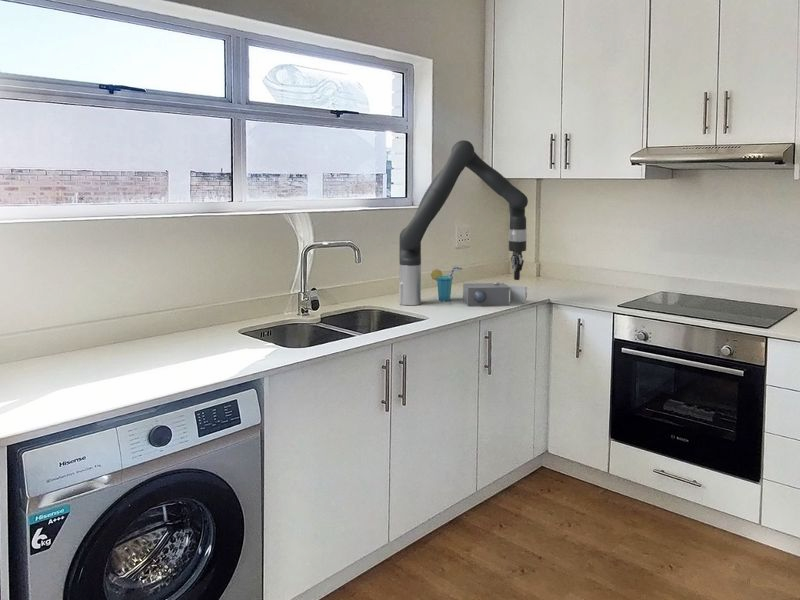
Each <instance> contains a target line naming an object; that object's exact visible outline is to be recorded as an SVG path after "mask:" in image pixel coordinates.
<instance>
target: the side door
mask: <svg viewBox="0 0 800 600" xmlns="http://www.w3.org/2000/svg"><path fill="white" fill-rule="evenodd" d="M505 284H506V283H505ZM506 285H507V286H509V287H510V302H513V303H514V302H515V303H521V304H526V303H527V297H528V292H527V291H528V287H526V286H521V285H514V284H506Z"/></svg>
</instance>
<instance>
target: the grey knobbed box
mask: <svg viewBox="0 0 800 600" xmlns="http://www.w3.org/2000/svg"><path fill="white" fill-rule="evenodd" d="M462 302H463V303H464V304H465V305H466V306H467V307H493V306H494V307H503V306H504V307H505V306H507V307H508V306H510V303H511V301H510V287H509V286H507V285H506V283H504V282H498V281H494V282H483V283H482V282H480V283H479V282H475V283H473V282H472V283H471V282H469V283H468V282H467V283H462Z"/></svg>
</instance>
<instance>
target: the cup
mask: <svg viewBox="0 0 800 600" xmlns="http://www.w3.org/2000/svg"><path fill="white" fill-rule="evenodd" d="M455 270H462V267H459V266H454V267H452V270H451V272H450V275H443V273H442V271H441V270H440V269H437V268H436V269H435V268H434V269H433V270H432V271H431V273H430V277H431V278H432V280H435V281H436V282H437V284H436V285H437V295H438V296H437V297H438V302H450V301H451V294H452V284H453V280H454V276H453V275H454V271H455Z"/></svg>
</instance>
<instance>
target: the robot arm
mask: <svg viewBox="0 0 800 600" xmlns="http://www.w3.org/2000/svg"><path fill="white" fill-rule="evenodd" d="M465 168H467V169H469V170H470V171H472V172H473V173H474V174H475V175H476V176H477V177H478V178H480V180H481V181H483V183H485V184H486V186H488V188H490V189H491V190H492V191H494V192H495V193H496V194H497V195H498V196H500V197H502V198H503V199H504V200H505V201H506V202H507V203H508V209H509V232H508V251H509V252H512V254H511V256H510V261H511V267H512V271H513V279H514V281H519V280H520V278H521V273H520V272H521V271H522V269H523V267H524V262H525V260H524V256H523V254H522V253H523V252H526V251H527V237H528V235H527V217H526V207H527V206H528V202H529V199H528V197H527V195H526V194H525V193H524V192H522V191H521V190H520V189H518V188H517V187H516V186H514V185H513V184H512V183H511V182H510V181H509V180H508V179H507V178H506V177H505V176H503V174H501V173H500V172H499V171H497V170H496V169H495V168H493V167H492V166H490V165H489V164H487V162H485V161H484V160H483V159H482V158H481V157H480V156H479V155H478V154H477V153H476V151H475V148H474V145H473V143H471V142H470V141H468V140H464V139H462V140H459V141H457V142H455V144H453V146H452V148H451V153H450V155H449V157H448V159H447V160H446V163H445V164H444V166H443V168H442V169H441V170H440V172H438V174H437V175H436V176H435V177H434V179H432V181H431V183H430V184H429V186H428V188H427V189H426V190H425V192H424V194H423V196H422V198H421V201H420V202H419V204H418V207H417V209H416V211H415V214H414V216H413V217H412V219H411V220H410V221H409V223H408V224H407V226H406V227H404V228H403V229H402V230H401V231H400V233H399V254H398V255H399V282H398V303H399V305H402V306H418V305H421V304H422V296H421V295H422V292H421V291H422V288H421V287H422V285H421V284H422V240H423V238H424V236H425V233H426V231H427V230H428V227H429V226H430V224H431V222H432V221H433V220H434V219H435V218H436V216H437V215H438V213H439V212H440V210H441V209H442V208H443V206H444V205H445V203H446V202H447V200H448V198H449V196H450V195H451V193H452V191H453V189H454V187H455V185H456V183H457V181H458V179H459V177H460V175H461V174H462V172H463V170H465Z"/></svg>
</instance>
